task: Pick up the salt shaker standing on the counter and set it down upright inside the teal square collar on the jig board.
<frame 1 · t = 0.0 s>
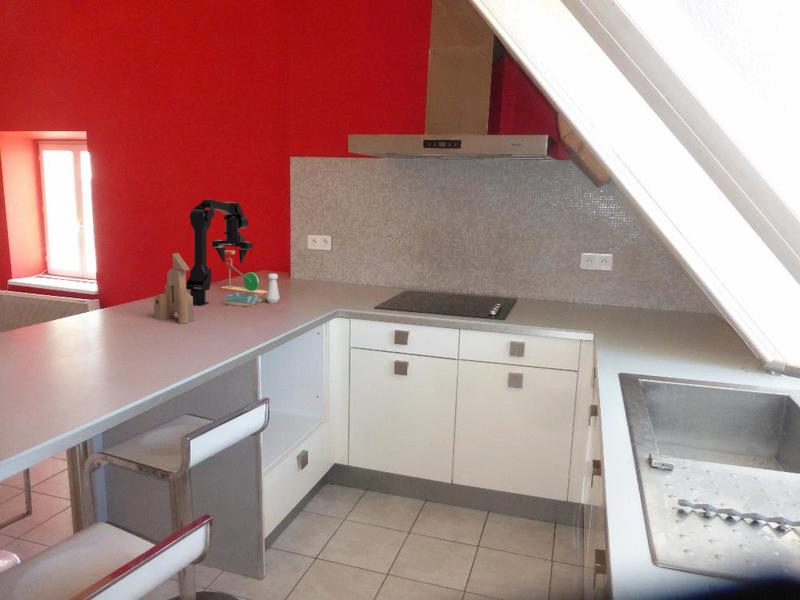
hand: (232, 262, 272), 15 cm above the worktop, tool pointing down, fingers open, 9 cm apart
jig: (246, 302, 256), on the worktop
wooden toy: (175, 320, 217), on the worktop
crank mechanism: (243, 292, 281), on the worktop
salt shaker: (273, 303, 257), on the worktop
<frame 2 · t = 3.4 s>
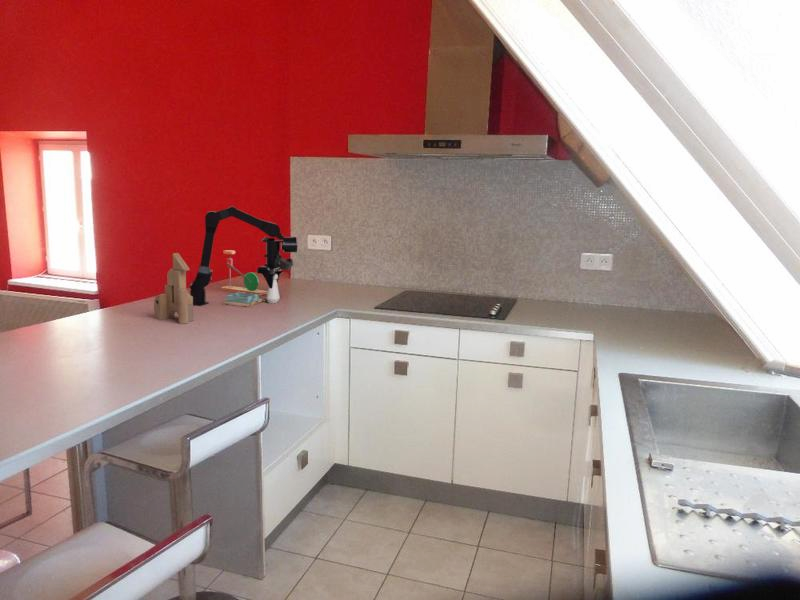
hand: (273, 287, 256), 7 cm above the worktop, tool pointing down, fingers closed on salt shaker, 3 cm apart
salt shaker: (273, 303, 257), on the worktop, touching gripper
everything else where it was.
when the fingers open (9 cm above the worktop, at t = 7.7 s): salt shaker drops 1 cm, resting on jig.
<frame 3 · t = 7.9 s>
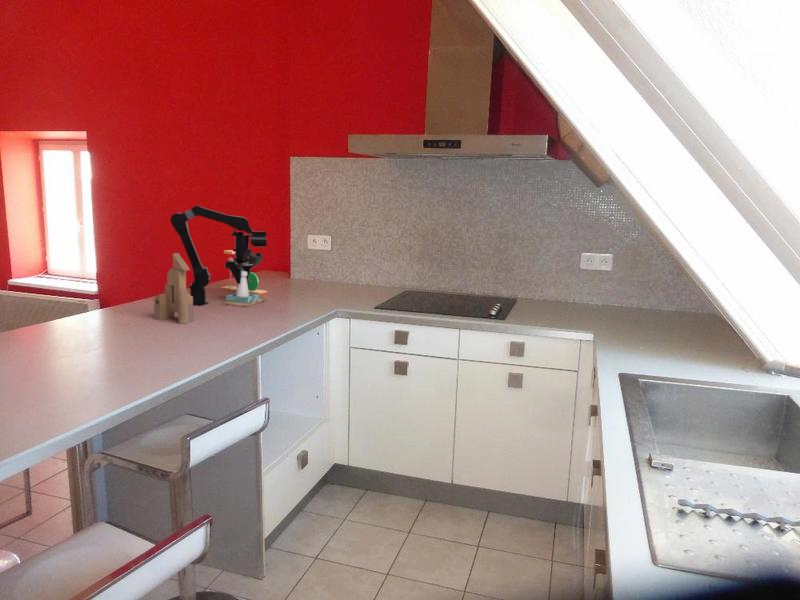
hand: (242, 282, 251), 9 cm above the worktop, tool pointing down, fingers open, 6 cm apart
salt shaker: (242, 301, 253), point 1 cm above the worktop, touching jig
everything else where it was.
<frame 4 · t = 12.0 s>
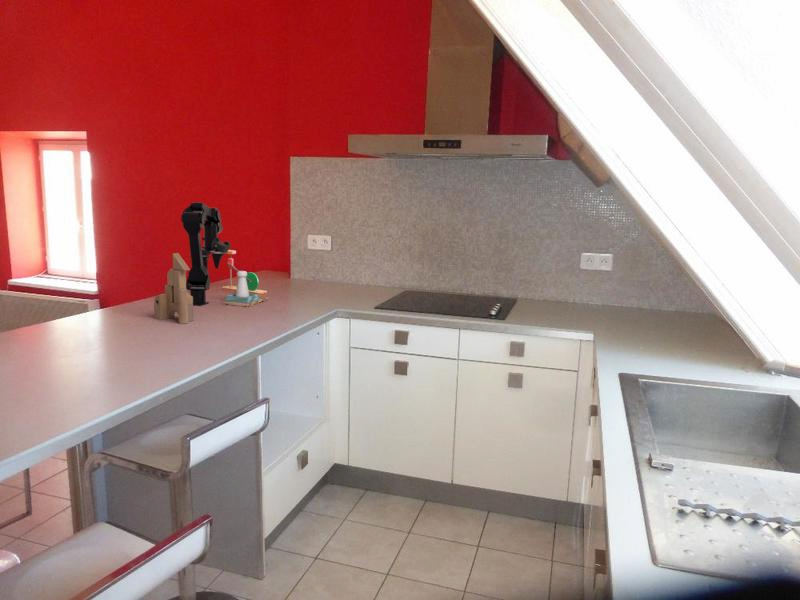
hand: (211, 269, 266), 12 cm above the worktop, tool pointing down, fingers open, 9 cm apart
nothing on the worktop moved.
at the end: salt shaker 0.1 cm from the target spot on the jig, point 1.0 cm above the jig's base; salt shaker tilted 0°; the gripper is holding nothing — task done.
